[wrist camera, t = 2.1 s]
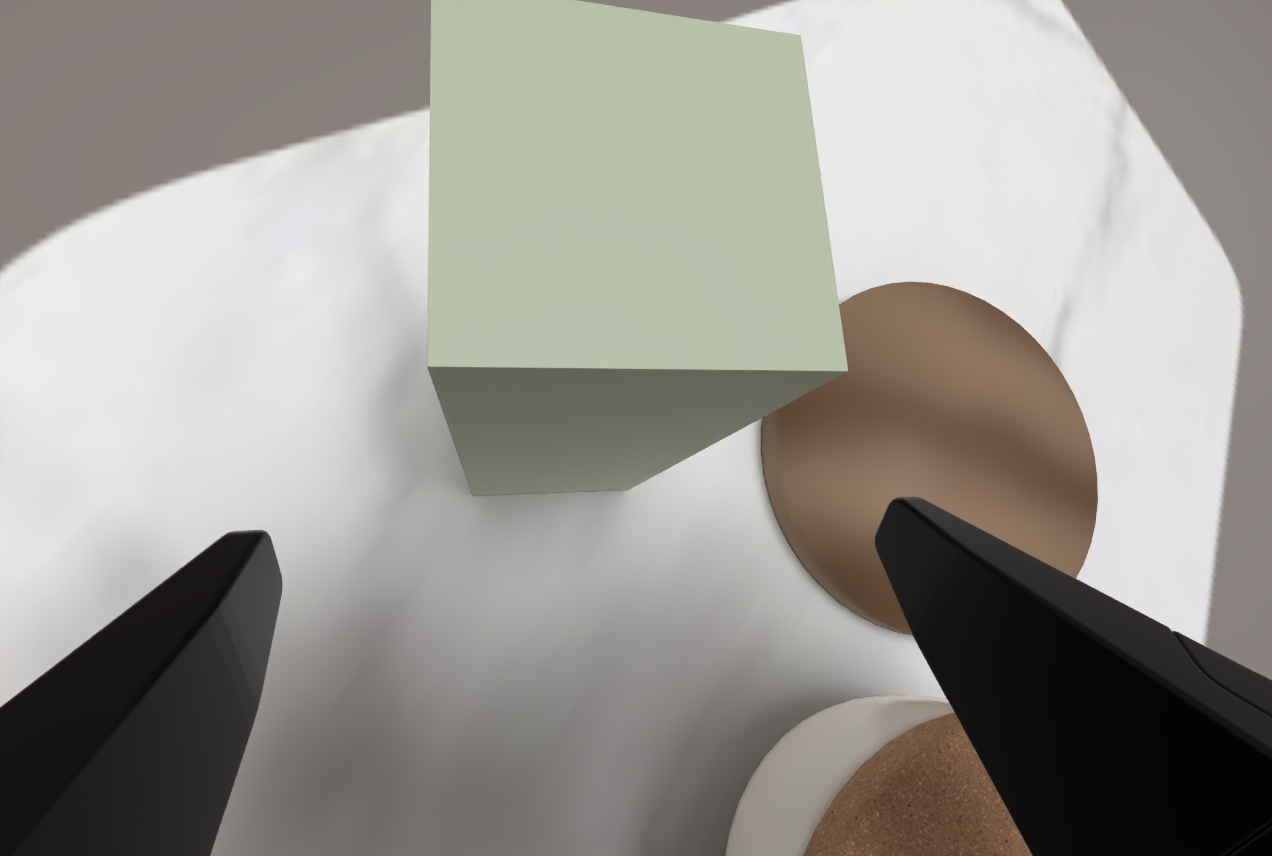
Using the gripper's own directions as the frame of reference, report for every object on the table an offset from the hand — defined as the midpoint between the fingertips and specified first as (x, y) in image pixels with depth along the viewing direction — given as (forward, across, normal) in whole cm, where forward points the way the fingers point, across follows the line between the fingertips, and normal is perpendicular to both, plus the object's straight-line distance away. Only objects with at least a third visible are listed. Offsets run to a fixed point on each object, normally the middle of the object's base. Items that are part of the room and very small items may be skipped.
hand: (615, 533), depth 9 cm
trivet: (+9, -14, +6) cm, 18 cm away
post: (+11, 0, +5) cm, 12 cm away
